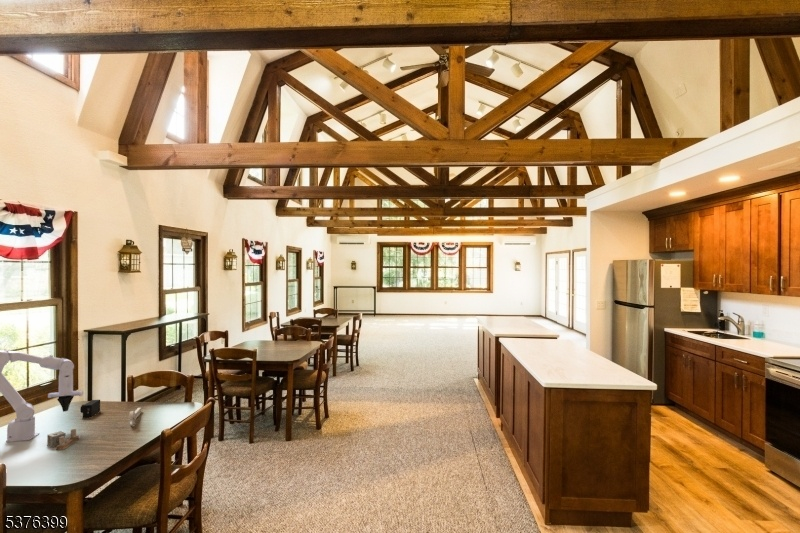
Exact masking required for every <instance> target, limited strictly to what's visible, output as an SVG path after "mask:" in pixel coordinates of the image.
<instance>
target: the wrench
mask: <svg viewBox="0 0 800 533" xmlns="http://www.w3.org/2000/svg"><path fill="white" fill-rule="evenodd" d="M141 413H142V407H137V409H135V410H131V411H129V414H128V419H129V426H130V427H134V426H135V424H136V419H137V418H138V417H139V416H140V414H141ZM133 425H134V426H133Z"/></svg>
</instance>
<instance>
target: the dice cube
mask: <svg viewBox="0 0 800 533" xmlns="http://www.w3.org/2000/svg"><path fill="white" fill-rule="evenodd" d="M62 436H65V439H66V437H67V436H66V432H64V431H61V430H60V431H55V432H53V433H49V434H47V436H46V437H47V440H46V441H47V442H46V444H47V446H48V447H49V448H52V449H53V448H56V447H57V446H58V445H59V438H60V437H62Z"/></svg>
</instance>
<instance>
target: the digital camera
mask: <svg viewBox="0 0 800 533" xmlns="http://www.w3.org/2000/svg"><path fill="white" fill-rule="evenodd" d="M79 410H80V413H81V414H82V419H87V418H88V419H89V417H92V416H93V417H94V416H96V415H97V414H99V413H100V412H101V399H91V400H90V401H88V402H86V403H84V404H81V406H80V409H79ZM99 411H100V412H99ZM98 412H99V413H98ZM95 414H96V415H95ZM93 417H92V418H93Z"/></svg>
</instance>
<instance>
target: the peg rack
mask: <svg viewBox="0 0 800 533" xmlns="http://www.w3.org/2000/svg"><path fill="white" fill-rule="evenodd" d="M79 439H80V437H79V435H77V428H74V429H73V428H72V429H70V437H68V438H67V439H66V438H65V436H62V437H60V438H59V445H58V446H56V447H55V448H56V451H61V450H65V449H67V448H68V447H70V446H71V445H72V444H74V443H75V442H77V441H78V440H79Z"/></svg>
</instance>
